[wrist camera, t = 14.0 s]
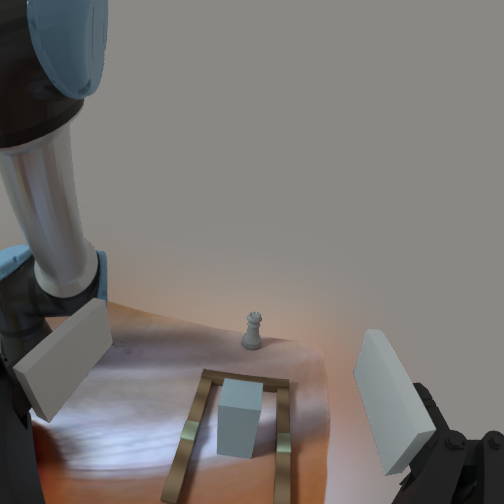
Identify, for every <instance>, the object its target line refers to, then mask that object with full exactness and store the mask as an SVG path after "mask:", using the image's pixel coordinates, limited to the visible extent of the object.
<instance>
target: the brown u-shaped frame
mask: <svg viewBox="0 0 504 504" xmlns="http://www.w3.org/2000/svg"><path fill="white" fill-rule="evenodd" d="M225 378H227V379H234V380H241V381H249V382H258V383H263V391H267V392H277V412H276V451H275V478H274V501H273V504H290V453H291V434H290V415H289V380H288V379H276V378H266V377H256V376H248V375H240V374H233V373H226V372H219V371H213V370H207V369H203V372H202V375H201V380H200V383H199V386H198V389H197V392H196V395H195V398H194V401H193V404H192V407H191V410H190V413H189V416H188V419H187V420H186V422H185V424H184V427H183V430H182V433H181V436H180V442H179V445H178V448H177V451H176V454H175V457H174V460H173V463H172V466H171V469H170V472H169V475H168V478H167V481H166V484H165V487H164V490H163V493H162V496H161V501H162V502H164V503H167V504H178V501H179V497H180V494H181V490H182V487H183V483H184V480H185V476H186V473H187V469H188V466H189V462H190V459H191V455H192V452H193V448H194V445H195V441H196V438H197V434H198V431H199V428H200V424H201V421H202V417H203V414H204V410H205V407H206V403H207V400H208V396H209V393H210V389H211V386H212V384H213V385H219V386H223V383H224V379H225Z"/></svg>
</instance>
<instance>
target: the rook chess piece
mask: <svg viewBox="0 0 504 504" xmlns="http://www.w3.org/2000/svg"><path fill="white" fill-rule="evenodd" d="M247 320H248V321H249V322H248V323H247V325H248V329H247V332H246V334H245V335H244V336H243V338H242V345H243V346H244V347H245V348H247V349H250V350H255V349H258V348H259V347H260V346H261V337H260V335H259V327H260V321H262V318H261V314H259V313H258V312H257V314H255V312H253V314H252V313H250V314H249V316H248V317H247Z"/></svg>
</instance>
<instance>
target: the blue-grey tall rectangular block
mask: <svg viewBox="0 0 504 504" xmlns="http://www.w3.org/2000/svg"><path fill="white" fill-rule="evenodd" d="M262 391H263V383H258V382H249V381H241V380H234V379H227V378H225V379H224V383H223V387H222V391H221V396H220V400H219V404H218V428H217V454H220V455H226V456H233V457H241V458H250V459H251V457H252V453H253V448H254V443H255V438H256V433H257V428H258V423H259V418H260V413H261V404H262Z"/></svg>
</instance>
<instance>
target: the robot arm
mask: <svg viewBox="0 0 504 504" xmlns="http://www.w3.org/2000/svg"><path fill="white" fill-rule="evenodd" d="M107 24H108V0H0V174H1V178H2V181H3V184H4V187H5V190H6V193H7V195H8V198H9V201H10V204H11V206H12V209H13V211H14V214H15V216H16V219H17V221H18V224H19V226H20V228H21V230H22V233H23V235H24V237H25V239H26V241H27V244H28V245H26V244H23V245H17V246H13V247H9V248H7V249H4V250H2V251H0V351H1V353H0V504H45V500H44V496H43V492H42V488H41V483H40V479H39V474H38V469H37V463H36V457H35V450H34V442H33V434H32V423H31V415H30V413H29V410H30V409H31V407H32V408H33V410H34V412H35V413H36V415H37V416H38V417H39V418H41V419H43V420H45V421H47V422H48V423H50V421H51V420H52V419H53V418H54V416H55V415H56V414H57V412H58V411H59V410H60V408H61V407H62V406H63V404H64V403H65V402H66V401H67V399H68V398H69V397H70V396H71V394H72V393H73V392H74V390H75V389H76V388H77V387H78V385H79V384H80V383H81V382H82V380H83V379H84V378H85V377H86V376H87V374H88V373H89V372H90V371H91V369H92V368H93V367H94V366H95V365H96V363H97V362H98V361H99V360H100V358H101V357H102V356H103V355H104V354H105V352H106V351H107V350H108V349H109V348H110V347H111V345H112V344H113V342H112V337H111V332H110V326H109V320H108V314H107V300H108V299H107V257H106V254H105V252H103V251H99V250H95V249H94V247H93V246H92V244H91V243H90V242H89V241H88V240H86V239H85V238H84V236H83V231H82V226H81V221H80V215H79V210H78V204H77V197H76V190H75V183H74V175H73V165H72V155H71V142H70V123H71V122H72V121H73V120H74V119H75V118H76V117H77V116H78V115H79V113H80V112H81V110H82V108H83V105H84V98H85V97H86V96H90V95H92V94H93V93H94V92H95V91H96V90H97V88H98V85H99V83H100V80H101V76H102V71H103V65H104V51H105V49H106V40H107V26H108V25H107ZM68 316H71V317H70V318H68V319H67V320H66V321H65V322H64V323H62V324H61V325H60V326H59V327H58V328H56V329H55V330H54V331H52V329H51V328H50V326H49V325H48V323H47V321H46V320H45V317H68ZM353 374H354V377H355V380H356V383H357V386H358V388H359V391H360V395H361V397H362V401H363V404H364V407H365V410H366V413H367V417H368V420H369V423H370V426H371V430H372V433H373V436H374V440H375V443H376V447H377V450H378V454H379V457H380V461H381V464H382V468H383V472H384V475H385V476H387V475H392V474H397V473H402V472H403V470H404V469H405V468H406V467H407V466H408V465H409V466H410V469H411V472H410V473H409V474H408V475H407V476H406V477H405V478H404V479H403V481H402V482H401V483H400V485H402V484H403V485H402V487H401V488H400V490H399V492H398V494H397V495H396V497H395V499H394V500H393V502H392V504H504V435H503V434H501V433H500V432H498V431H489V432H488V433H486V434H485V436H484V437H483V438H482V439H481V440H467V439H466V438H465V436H464V435H463V434H462V433H460V432H458V431H454V430H450V429H449V427H448V425H447V423H446V421H445V419H444V418H443V416H442V414H441V412H440V410H439V408H438V407H437V406H436V403H435V401H434V400H432V396H431V394H430V393H429V391H428V389H426V388H425V387H424V386H423V385H422V384H421V383H412V382H411V380H410V378H409V377H408V375H407V373H406V371H405V369H404V368H403V366H402V364H401V362H400V361H399V359H398V357H397V355H396V354H395V352H394V350H393V349H392V347H391V345H390V343H389V342H388V340H387V339H386V337H385V335H384V334H383V332H382V330H380V329H367V331H366V334H365V338H364V341H363V344H362V347H361V351H360V354H359V357H358V360H357V363H356V366H355V369H354V372H353Z"/></svg>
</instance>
